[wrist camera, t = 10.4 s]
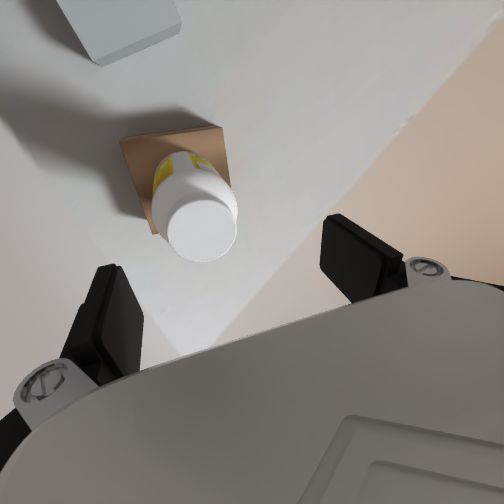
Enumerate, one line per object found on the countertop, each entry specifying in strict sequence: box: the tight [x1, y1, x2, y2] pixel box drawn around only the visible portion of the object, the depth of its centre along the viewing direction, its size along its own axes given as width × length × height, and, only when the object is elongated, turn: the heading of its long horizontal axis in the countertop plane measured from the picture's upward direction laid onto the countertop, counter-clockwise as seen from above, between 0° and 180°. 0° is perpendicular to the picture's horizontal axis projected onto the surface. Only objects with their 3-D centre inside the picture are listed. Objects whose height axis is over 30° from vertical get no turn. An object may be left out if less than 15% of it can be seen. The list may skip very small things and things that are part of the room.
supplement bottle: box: [152, 151, 238, 262], centre depth 22 cm, size 7×7×13 cm
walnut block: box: [119, 125, 231, 235], centre depth 29 cm, size 10×10×4 cm
